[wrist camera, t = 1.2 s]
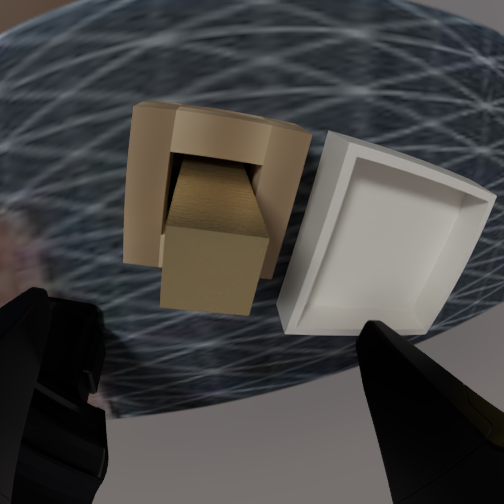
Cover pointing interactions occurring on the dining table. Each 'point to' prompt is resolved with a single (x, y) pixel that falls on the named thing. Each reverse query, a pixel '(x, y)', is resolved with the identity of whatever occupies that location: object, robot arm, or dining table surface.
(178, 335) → the dining table surface
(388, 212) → the tray
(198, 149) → the block
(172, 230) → the pin
